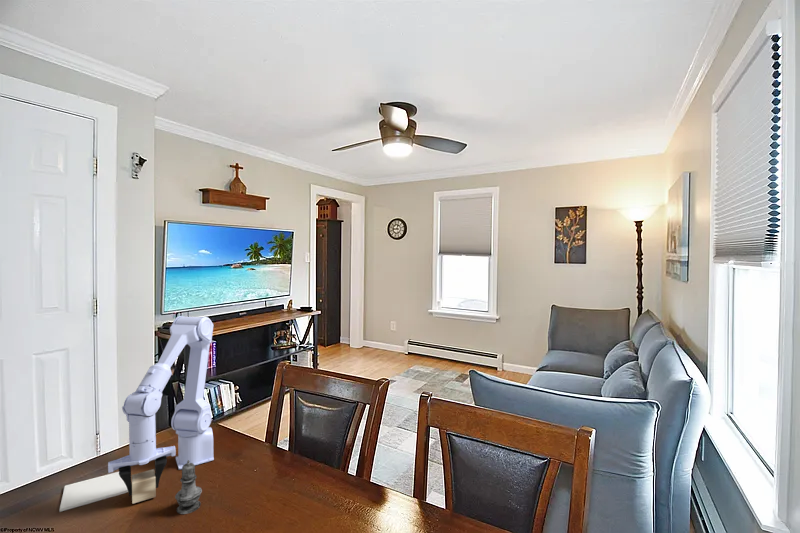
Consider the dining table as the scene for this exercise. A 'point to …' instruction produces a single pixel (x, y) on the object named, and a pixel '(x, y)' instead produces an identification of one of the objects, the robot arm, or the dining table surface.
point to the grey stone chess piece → (188, 490)
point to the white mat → (92, 490)
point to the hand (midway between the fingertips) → (143, 489)
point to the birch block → (143, 486)
